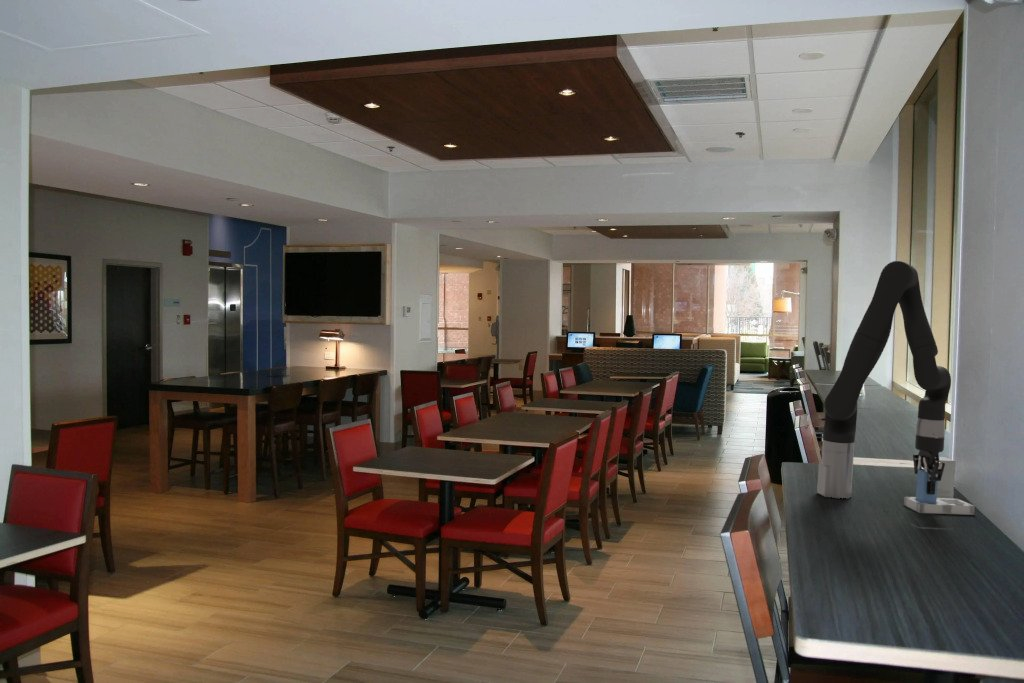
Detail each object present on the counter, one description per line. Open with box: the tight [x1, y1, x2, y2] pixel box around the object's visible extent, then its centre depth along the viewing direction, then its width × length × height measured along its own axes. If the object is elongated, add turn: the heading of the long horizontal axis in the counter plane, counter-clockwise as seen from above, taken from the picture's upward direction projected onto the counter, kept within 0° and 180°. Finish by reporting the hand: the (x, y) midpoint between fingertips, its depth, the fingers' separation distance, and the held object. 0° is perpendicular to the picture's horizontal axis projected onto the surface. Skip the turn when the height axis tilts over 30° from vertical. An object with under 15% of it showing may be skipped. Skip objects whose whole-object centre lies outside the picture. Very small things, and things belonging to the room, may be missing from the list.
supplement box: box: [937, 456, 957, 498], centre depth 265 cm, size 7×7×13 cm
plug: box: [915, 468, 938, 503], centre depth 246 cm, size 4×4×11 cm
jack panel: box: [903, 496, 975, 516], centre depth 247 cm, size 16×9×3 cm, turn 91°
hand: (926, 492), depth 246 cm, fingers closed on plug, 4 cm apart
